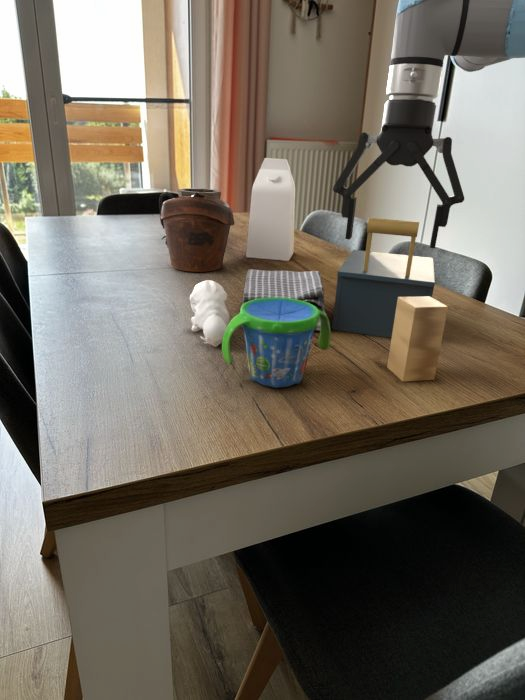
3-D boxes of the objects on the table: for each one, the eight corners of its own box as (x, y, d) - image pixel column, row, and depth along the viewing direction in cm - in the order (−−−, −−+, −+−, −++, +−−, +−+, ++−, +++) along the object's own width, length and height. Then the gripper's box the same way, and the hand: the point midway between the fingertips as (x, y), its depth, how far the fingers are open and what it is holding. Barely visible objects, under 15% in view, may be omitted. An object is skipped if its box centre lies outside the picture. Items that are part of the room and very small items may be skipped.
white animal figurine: (225, 276, 87) (239, 303, 77) (224, 322, 91) (236, 353, 81) (188, 276, 86) (197, 304, 76) (188, 323, 90) (196, 355, 80)
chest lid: (434, 287, 83) (445, 226, 79) (337, 275, 87) (343, 217, 83) (432, 261, 101) (441, 211, 98) (352, 253, 105) (358, 204, 101)
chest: (423, 342, 87) (434, 286, 84) (331, 329, 91) (337, 275, 88) (424, 310, 105) (432, 262, 101) (347, 300, 109) (352, 253, 105)
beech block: (416, 365, 78) (429, 296, 74) (434, 379, 74) (448, 306, 69) (386, 367, 77) (397, 296, 73) (402, 381, 72) (415, 307, 68)
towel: (318, 303, 106) (321, 265, 103) (327, 334, 89) (331, 290, 86) (244, 299, 106) (246, 261, 103) (239, 330, 89) (241, 286, 86)
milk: (293, 252, 152) (300, 159, 142) (288, 260, 142) (295, 160, 132) (253, 249, 154) (257, 157, 144) (246, 257, 143) (249, 157, 134)
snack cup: (232, 401, 65) (234, 325, 61) (212, 367, 74) (212, 299, 70) (343, 388, 70) (351, 317, 66) (311, 358, 79) (317, 294, 75)
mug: (222, 236, 171) (223, 189, 165) (218, 244, 159) (218, 193, 153) (164, 233, 171) (162, 186, 166) (154, 240, 159) (153, 190, 153)
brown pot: (209, 255, 143) (210, 188, 136) (247, 271, 128) (250, 197, 121) (148, 260, 133) (145, 189, 127) (181, 279, 118) (180, 198, 111)
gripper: (324, 94, 76) (311, 237, 84) (503, 101, 70) (471, 255, 78) (332, 98, 83) (319, 231, 91) (496, 105, 77) (467, 246, 85)
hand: (389, 242), depth 85 cm, fingers open, 13 cm apart
